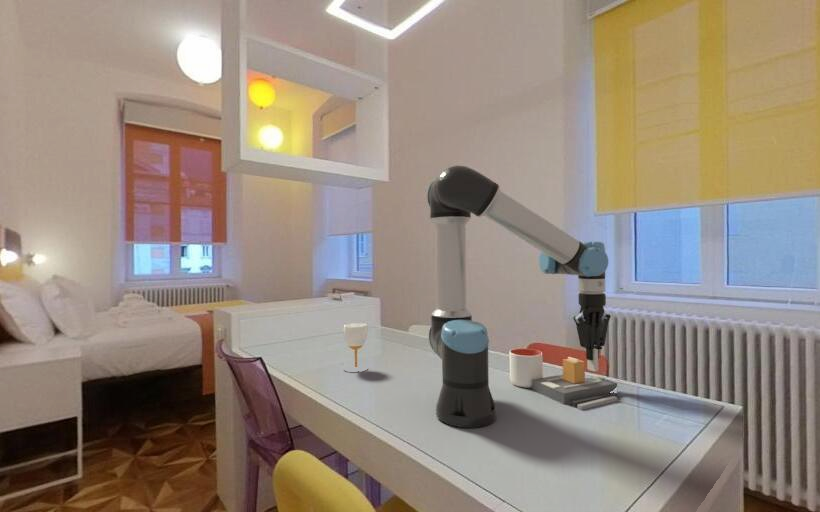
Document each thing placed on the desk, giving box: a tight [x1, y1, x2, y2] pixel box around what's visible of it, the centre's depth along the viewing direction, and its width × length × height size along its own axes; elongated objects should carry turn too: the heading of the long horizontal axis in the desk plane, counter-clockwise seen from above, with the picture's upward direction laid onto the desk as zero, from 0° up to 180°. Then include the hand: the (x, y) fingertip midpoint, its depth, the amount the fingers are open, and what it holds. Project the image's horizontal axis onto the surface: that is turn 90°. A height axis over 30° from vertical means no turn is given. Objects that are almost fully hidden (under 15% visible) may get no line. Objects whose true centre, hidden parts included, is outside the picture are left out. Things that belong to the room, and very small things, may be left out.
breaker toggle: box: [562, 356, 586, 384], centre depth 117 cm, size 4×4×7 cm
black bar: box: [570, 392, 619, 408], centre depth 109 cm, size 16×1×1 cm, turn 113°
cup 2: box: [343, 322, 369, 367], centre depth 144 cm, size 9×9×16 cm
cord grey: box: [576, 396, 618, 411], centre depth 107 cm, size 14×1×1 cm, turn 116°
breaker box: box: [531, 373, 618, 405], centre depth 117 cm, size 20×13×3 cm, turn 113°
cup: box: [508, 348, 544, 389], centre depth 125 cm, size 10×10×10 cm
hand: (592, 370), depth 120 cm, fingers closed
